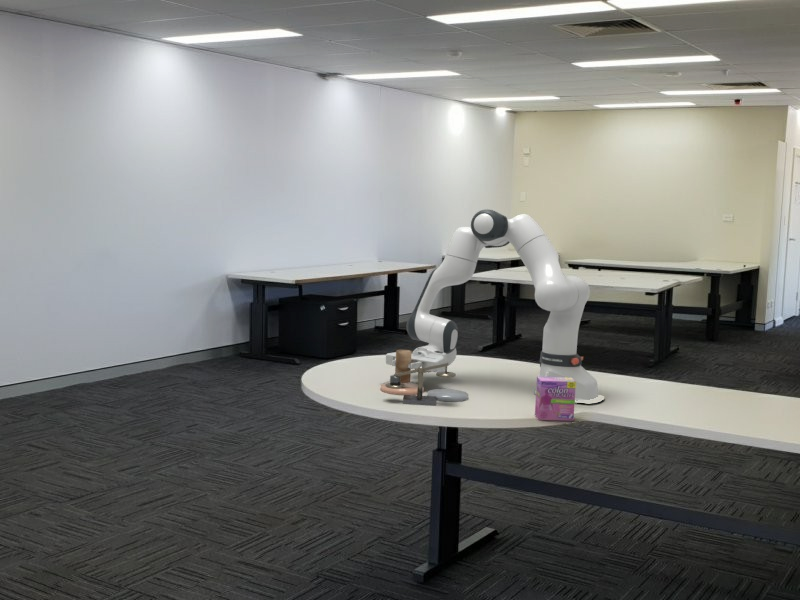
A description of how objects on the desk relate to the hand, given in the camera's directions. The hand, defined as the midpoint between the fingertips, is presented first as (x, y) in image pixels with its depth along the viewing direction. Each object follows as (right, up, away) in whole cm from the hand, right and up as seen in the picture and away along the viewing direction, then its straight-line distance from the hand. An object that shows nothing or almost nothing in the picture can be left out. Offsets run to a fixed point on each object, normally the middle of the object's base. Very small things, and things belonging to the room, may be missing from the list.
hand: (401, 364), depth 271 cm
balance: (+5, -10, -14) cm, 18 cm away
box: (+44, -14, -27) cm, 54 cm away
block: (0, -5, +1) cm, 6 cm away
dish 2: (+15, -10, -5) cm, 18 cm away
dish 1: (0, -8, +2) cm, 9 cm away
